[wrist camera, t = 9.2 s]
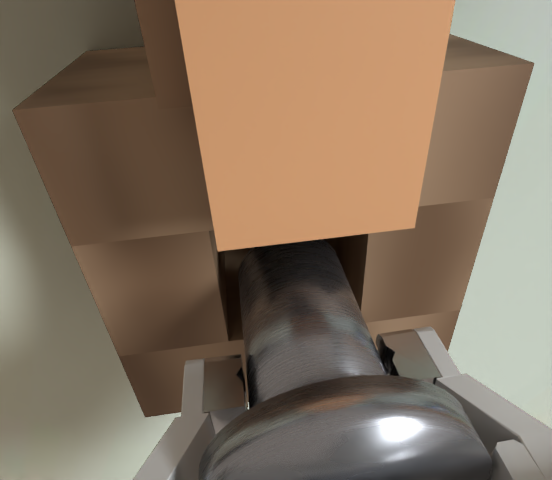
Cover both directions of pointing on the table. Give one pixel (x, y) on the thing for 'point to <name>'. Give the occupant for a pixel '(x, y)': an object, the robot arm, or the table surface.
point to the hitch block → (197, 215)
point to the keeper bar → (313, 112)
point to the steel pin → (330, 388)
